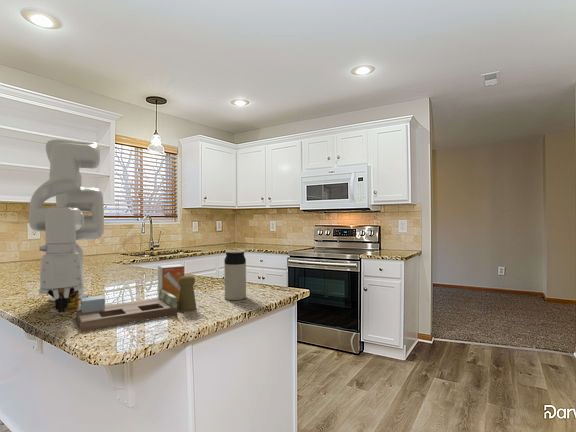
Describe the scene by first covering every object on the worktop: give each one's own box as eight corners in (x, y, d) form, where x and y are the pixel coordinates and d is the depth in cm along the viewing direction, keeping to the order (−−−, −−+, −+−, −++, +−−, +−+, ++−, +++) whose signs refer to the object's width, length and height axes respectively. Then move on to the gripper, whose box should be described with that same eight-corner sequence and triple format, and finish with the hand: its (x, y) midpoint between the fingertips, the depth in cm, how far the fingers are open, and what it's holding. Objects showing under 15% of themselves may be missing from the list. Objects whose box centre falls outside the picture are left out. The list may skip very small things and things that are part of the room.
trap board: (76, 317, 108) (76, 299, 108) (162, 304, 123) (162, 288, 123) (81, 331, 95) (81, 310, 95) (176, 314, 110) (176, 297, 110)
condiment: (66, 314, 112) (66, 276, 112) (46, 312, 115) (46, 275, 115) (85, 308, 119) (85, 273, 119) (66, 306, 122) (66, 272, 122)
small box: (162, 304, 123) (161, 267, 123) (157, 300, 129) (157, 265, 129) (185, 301, 128) (184, 265, 128) (179, 297, 133) (179, 263, 133)
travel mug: (232, 301, 127) (231, 252, 127) (220, 298, 133) (220, 250, 133) (250, 298, 132) (249, 250, 132) (238, 294, 138) (238, 249, 138)
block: (80, 309, 108) (80, 298, 108) (102, 306, 112) (102, 295, 112) (82, 313, 104) (82, 301, 104) (104, 309, 108) (104, 298, 108)
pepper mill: (199, 307, 119) (199, 275, 119) (189, 312, 114) (189, 278, 113) (184, 305, 121) (184, 274, 121) (173, 310, 115) (173, 277, 115)
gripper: (29, 251, 96) (29, 318, 96) (91, 248, 104) (91, 310, 104) (29, 249, 102) (30, 312, 102) (88, 246, 110) (89, 304, 111)
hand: (61, 311), depth 103 cm, fingers closed
